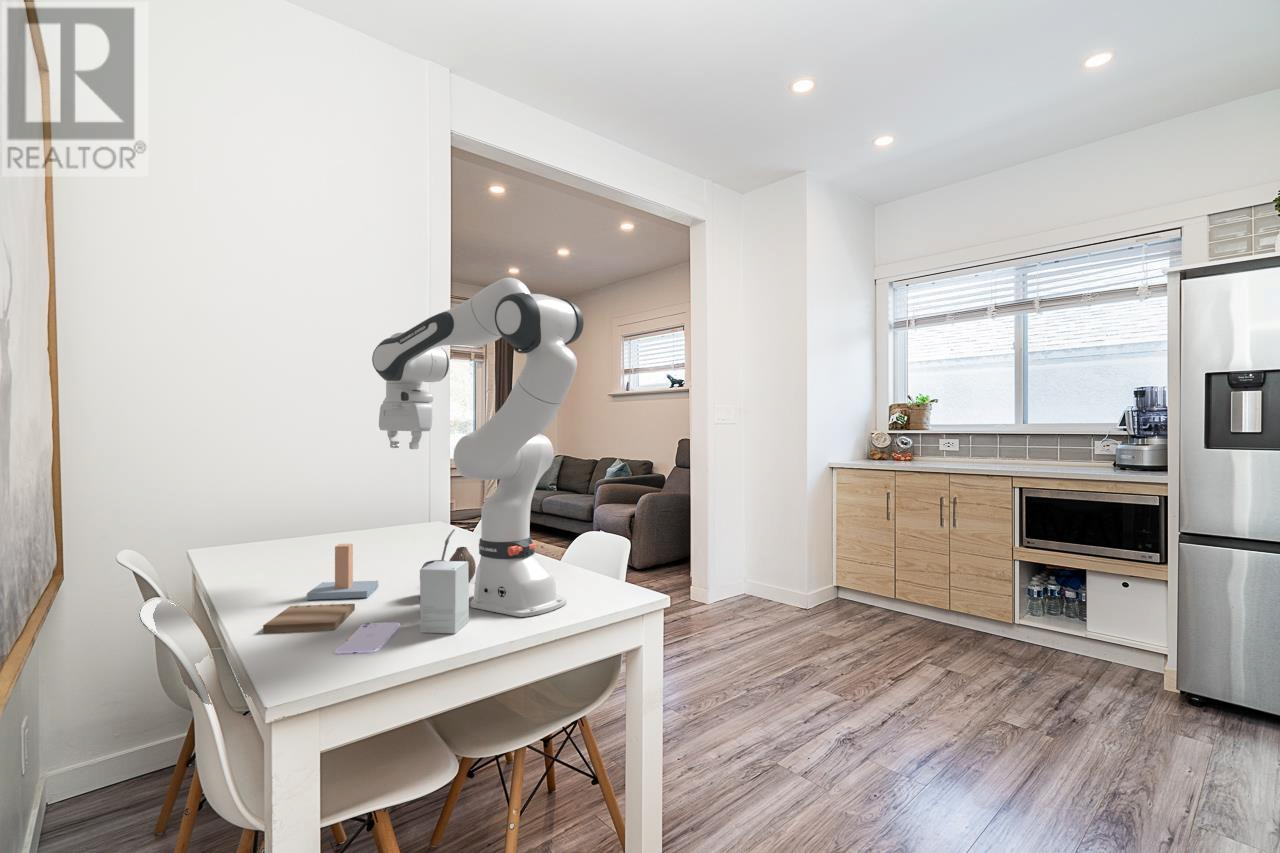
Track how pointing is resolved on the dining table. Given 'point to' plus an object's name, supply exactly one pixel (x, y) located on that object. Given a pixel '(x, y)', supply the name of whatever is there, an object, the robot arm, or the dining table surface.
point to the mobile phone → (368, 638)
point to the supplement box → (444, 596)
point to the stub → (343, 579)
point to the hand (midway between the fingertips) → (404, 448)
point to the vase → (465, 559)
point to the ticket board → (309, 618)
